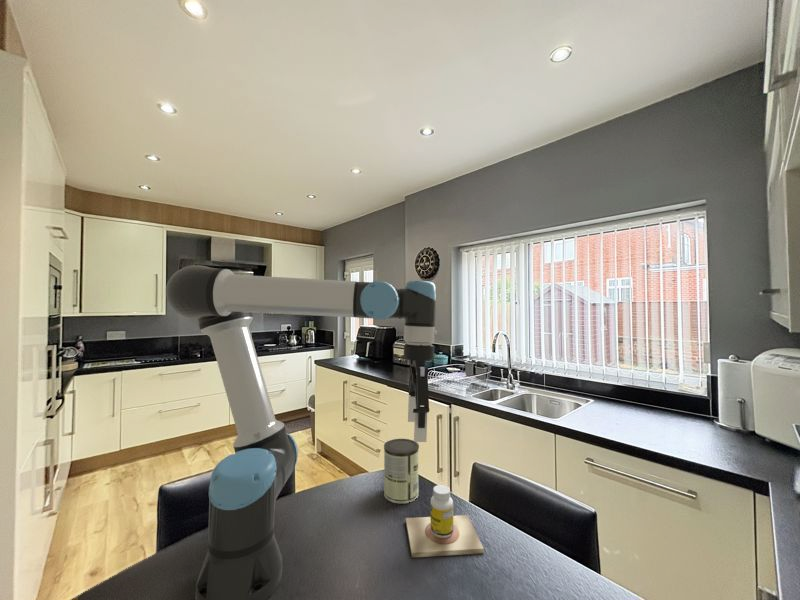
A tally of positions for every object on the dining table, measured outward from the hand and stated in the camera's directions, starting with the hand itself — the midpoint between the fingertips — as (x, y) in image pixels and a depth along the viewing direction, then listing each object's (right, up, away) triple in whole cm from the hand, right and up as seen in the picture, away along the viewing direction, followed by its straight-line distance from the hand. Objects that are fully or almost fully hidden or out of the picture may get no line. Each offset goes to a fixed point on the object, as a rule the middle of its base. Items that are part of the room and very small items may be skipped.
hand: (416, 430), depth 79 cm
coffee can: (-4, -25, +16) cm, 30 cm away
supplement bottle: (+6, -23, -3) cm, 24 cm away
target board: (+6, -24, -3) cm, 25 cm away
